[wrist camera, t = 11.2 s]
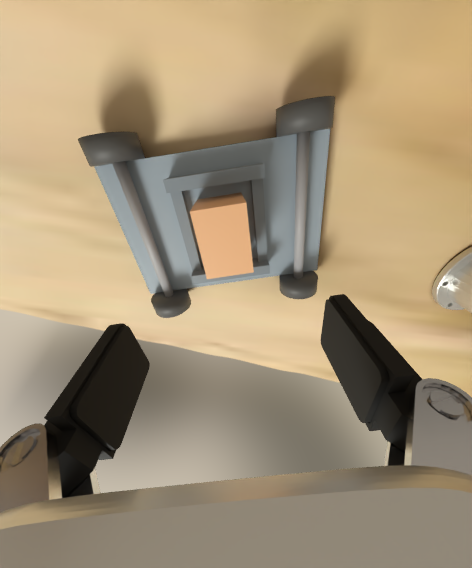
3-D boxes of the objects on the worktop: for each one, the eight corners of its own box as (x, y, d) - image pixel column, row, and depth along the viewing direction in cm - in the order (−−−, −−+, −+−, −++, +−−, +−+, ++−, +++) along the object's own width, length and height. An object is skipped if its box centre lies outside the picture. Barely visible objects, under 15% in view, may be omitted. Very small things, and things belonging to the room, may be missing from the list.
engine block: (241, 192, 23) (246, 202, 17) (247, 250, 26) (253, 272, 21) (197, 199, 23) (189, 211, 18) (210, 256, 26) (206, 279, 21)
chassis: (325, 105, 20) (353, 91, 16) (312, 276, 31) (326, 295, 27) (92, 143, 21) (58, 140, 16) (158, 298, 31) (148, 320, 27)
